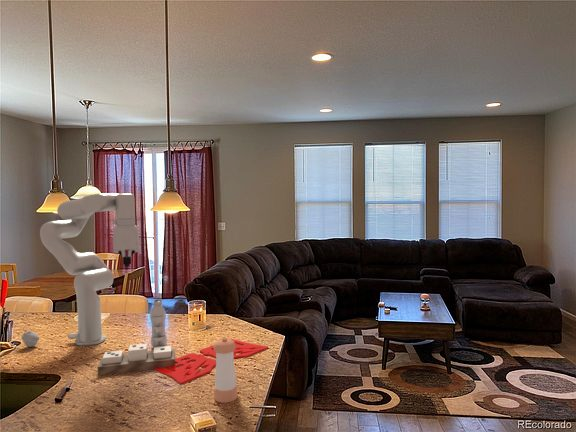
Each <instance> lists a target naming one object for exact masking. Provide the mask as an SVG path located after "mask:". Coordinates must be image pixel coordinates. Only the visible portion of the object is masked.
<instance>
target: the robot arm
mask: <svg viewBox="0 0 576 432" xmlns="http://www.w3.org/2000/svg"><path fill="white" fill-rule="evenodd" d="M135 200H136V199H135V195H134V194H132V193H117V192H116V193H115V192H114V193H112V192H111V193H106V192H105V193H104V192H103V193H101V192H100V193H95V194H94V193H93V194H89V195H86V196H83V197H80V198H77V199H70V200H66V201H63V202H62V203H60V204H59V205H58V207H57V211H56V212H57V215H58V216H59V217H60V218H61V219H62V220H60V219H58V220H52V221H51V220H50V221H47V222H45V223H43V224H42V225H41V227H40V229H39V237H40V240H41V243H42V245H43V246H44V247H45V248H46V249H47V250H48V252H49V253H51V254H52V255H53V257H54V258H55V259H56V260H57V262H58V263H59V264H60V265H61V267H62V268H63V269H64V270H65V272H66V273H68V274H69V275H70V276H75V278H74V280H73V287H74V290H75V295H76V308H77V310H76V311H77V329H78V331H77V332H76V333H68V334H67V339H69V340H74V344H75V345H76V346H80V347H81V346H82V347H83V346H93V345H98V344H101V343H103V342H104V341H106V339H107V338H106V335H104V334H103V332H102V330H103V329H102V308H101V307H102V306H101V299H100V296H99V295H98V293H97V291H101V290H104V289H108V288H110V287H111V286H112V285H113V284H114V274H113V273H112V272H113V271H111V269H110V268H109V267H108V266H107V264H105V262H104V260H102V258H101V257H100V256H99V255H98V254H96V253H95V252H90V251H87V252H78V251H77V250H76V249H75V247H74V246H73V245H72V244H70V243H69V242H67V241H65V240H64V239H68V238H69V239H71V238H75V237H77V236H79V235H80V234H81V232H82V231H83V229H84V228H85V226H86V225H87V222H88V221H89V219H90V217H91V216H93V215H94V213H100V212H115V219H114V220H112V224H114V225H116V226H114V227H113V236H112V237H113V241H112V244H113V245H112V246H113V251H112V252H113V253H114V254H118V255H120V256H121V257H122V261H123V265H124V267H125V268H126V267H130V266H131V264H132V256H133V255H134V254H135V253H138V252H141V249H140V235H139V229H138V226H137V225H136V201H135ZM126 251H128V255H127V253H126Z"/></svg>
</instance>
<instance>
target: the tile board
mask: <svg viewBox="0 0 576 432" xmlns="http://www.w3.org/2000/svg"><path fill="white" fill-rule="evenodd" d="M147 352H148V357H147V360H139V361H129V357H128V352H127V353H123V361H122V362H119V363H110V364H103V356H104V355H102V356H101V359H100V360H99V363H98V366H97V376H105V375H112V374H113V375H114V374H123V373H130V372H131V373H132V372H141V371H142V372H143V371H150V370H155V367H162V368H165V369H167V368H166V366H173V365H175V364H176V363H175V359H176V349H175V348H171V357H168V358H158V359H154V350H147Z"/></svg>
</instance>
